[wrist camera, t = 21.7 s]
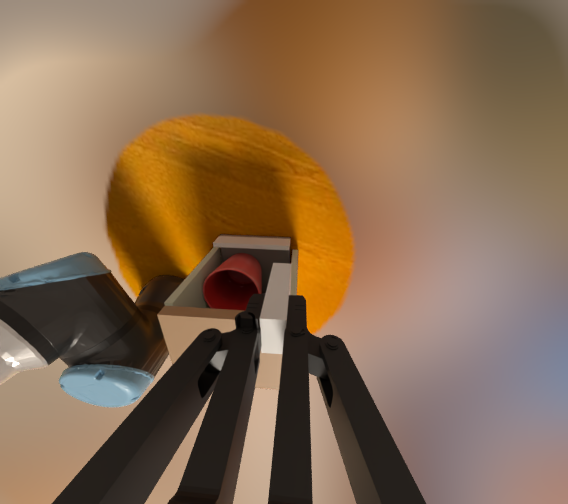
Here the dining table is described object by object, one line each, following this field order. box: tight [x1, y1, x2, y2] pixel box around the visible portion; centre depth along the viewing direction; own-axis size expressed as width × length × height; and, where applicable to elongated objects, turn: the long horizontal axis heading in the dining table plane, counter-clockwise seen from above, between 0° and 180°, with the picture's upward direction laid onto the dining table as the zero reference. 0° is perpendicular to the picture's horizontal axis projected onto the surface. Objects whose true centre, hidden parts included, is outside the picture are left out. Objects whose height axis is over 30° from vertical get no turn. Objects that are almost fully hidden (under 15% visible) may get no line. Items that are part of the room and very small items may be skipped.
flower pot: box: [203, 253, 262, 311], centre depth 43 cm, size 11×11×10 cm
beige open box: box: [157, 247, 298, 390], centre depth 40 cm, size 18×14×21 cm
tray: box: [213, 234, 291, 294], centre depth 46 cm, size 15×14×4 cm
